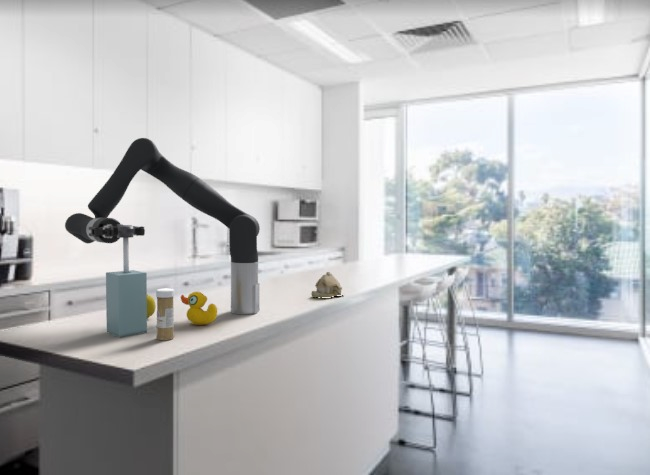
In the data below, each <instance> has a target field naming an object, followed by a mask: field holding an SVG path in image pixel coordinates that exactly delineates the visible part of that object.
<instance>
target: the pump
mask: <svg viewBox="0 0 650 475" xmlns="http://www.w3.org/2000/svg"><path fill="white" fill-rule="evenodd" d="M133 226H134V225H132V226H118V237H119V238H120V239H122V244H123V245H122V248H123V249H122V250H123V253H122V254H123V258H122V259H123V263H122V265H123V266H122V267H123V270H122V271H124V273H129V271H130V266H129V265H130V260H129V259H130V258H129V257H130V256H129V248H130V247H129V246H130V245H129V238H131V239H132V238H134V235H133V233H134V232H135V229H133Z"/></svg>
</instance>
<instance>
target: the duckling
mask: <svg viewBox="0 0 650 475" xmlns="http://www.w3.org/2000/svg"><path fill="white" fill-rule="evenodd" d="M180 300H181V302H182V303H183V304H184V305H186V306H187V305H188V306H189V308H188V310H187V311H186V318H187V319H188V321H189V322H190V323H191V324H192V325H196V326H199V325H200V326H204V325H208V324H211V323H212V322H214V321H216V319H217V316H218V308H217V306H216V304H215V303H210V304H208V307H207V309H206V310H204V309H203V307H204V306H205V304H206V303H207V302H208V297H207V296H206V295H205V294H204V293H202V292H200V291H193V292H191V293H189V295H188V296H187V297H186V296H184V294H181V296H180Z"/></svg>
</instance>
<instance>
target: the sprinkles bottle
mask: <svg viewBox="0 0 650 475" xmlns="http://www.w3.org/2000/svg"><path fill="white" fill-rule="evenodd" d="M155 291H156V292H155V296H156V302H157V303H156V306H157V307H156V340H158V341H167V340H173V339H174V338H175V335H174V325H175V323H174V321H175V320H174V319H175V318H174V316H175V314H174V313H175V311H174V310H175V308H174V297H175V289H173V288H165V287H164V288H158V289H156V290H155Z"/></svg>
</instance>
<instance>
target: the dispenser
mask: <svg viewBox="0 0 650 475" xmlns="http://www.w3.org/2000/svg"><path fill="white" fill-rule="evenodd" d="M147 286H148V285H147V272H144V271H140V270H135V269H132V270H129V273H124V270H121V271H119V270H118V271H109V272H105V288H106V289H105V296H106V297H105V299H106V301H105V302H106V303H105V304H106V305H105V306H106V307H105V309H106V316H105V318H106V333H108V334H110V335H112V336H115V337H117V338H124V337H130V336H134V335H136V336H137V335H140V334H145V333H146V334H147V333H148V319H147V294H148V293H147V291H148V290H147Z"/></svg>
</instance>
